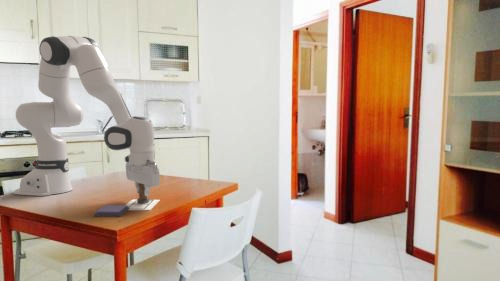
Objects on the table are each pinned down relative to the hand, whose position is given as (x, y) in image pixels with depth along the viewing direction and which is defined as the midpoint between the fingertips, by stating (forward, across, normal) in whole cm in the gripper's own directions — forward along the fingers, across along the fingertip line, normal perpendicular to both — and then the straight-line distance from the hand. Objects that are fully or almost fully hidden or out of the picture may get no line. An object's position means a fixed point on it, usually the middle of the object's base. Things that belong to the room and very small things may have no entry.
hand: (143, 194), depth 137 cm
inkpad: (+3, -4, +14) cm, 15 cm away
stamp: (+3, 0, 0) cm, 3 cm away
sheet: (+3, -2, +2) cm, 5 cm away
